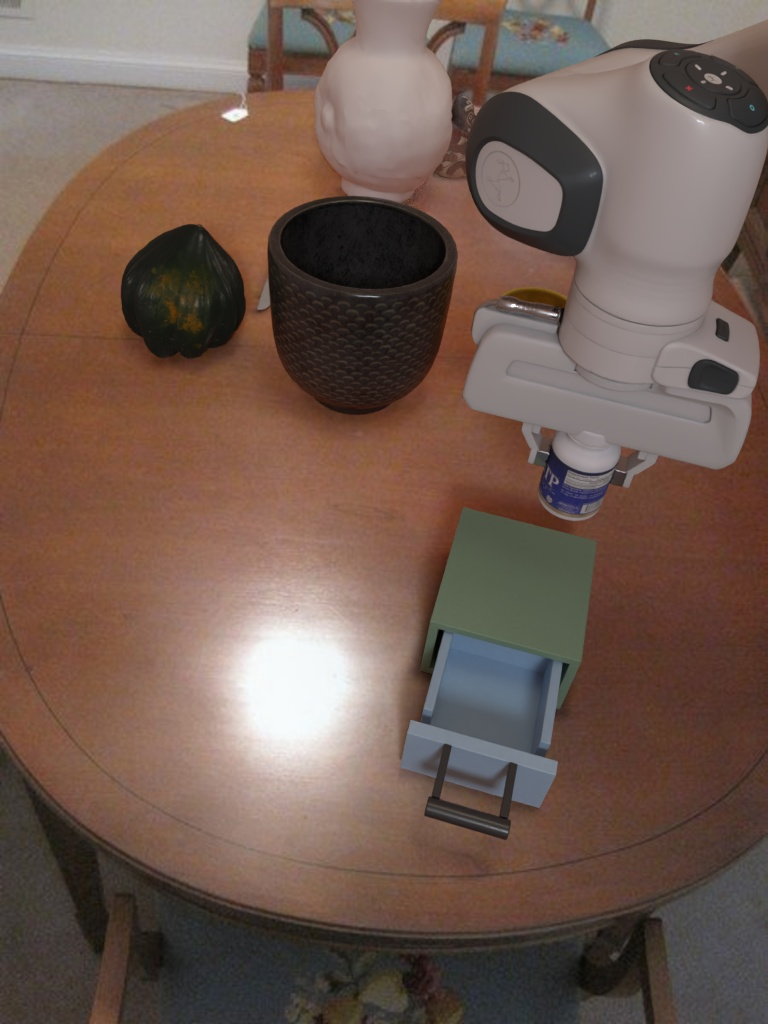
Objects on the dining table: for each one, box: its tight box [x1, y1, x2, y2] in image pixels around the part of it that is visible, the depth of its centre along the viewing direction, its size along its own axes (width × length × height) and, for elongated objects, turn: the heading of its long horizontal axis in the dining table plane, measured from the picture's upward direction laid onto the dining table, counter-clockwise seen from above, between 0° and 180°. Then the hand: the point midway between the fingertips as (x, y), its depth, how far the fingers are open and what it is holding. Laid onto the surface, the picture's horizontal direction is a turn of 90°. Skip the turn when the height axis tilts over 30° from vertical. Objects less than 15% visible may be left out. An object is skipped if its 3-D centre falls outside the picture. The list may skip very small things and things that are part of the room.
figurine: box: [433, 92, 477, 179], centre depth 138 cm, size 7×7×12 cm
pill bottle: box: [537, 430, 622, 522], centre depth 67 cm, size 5×5×9 cm
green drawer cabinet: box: [419, 506, 598, 710], centre depth 77 cm, size 14×13×8 cm
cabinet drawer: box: [399, 631, 563, 841], centre depth 68 cm, size 18×11×6 cm, turn 165°
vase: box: [313, 0, 453, 203], centre depth 124 cm, size 19×21×30 cm
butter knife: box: [256, 277, 270, 311], centre depth 119 cm, size 1×24×3 cm
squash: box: [120, 223, 247, 360], centre depth 102 cm, size 14×15×15 cm
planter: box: [266, 195, 459, 416], centre depth 95 cm, size 20×20×19 cm
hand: (578, 470), depth 68 cm, fingers closed on pill bottle, 5 cm apart
